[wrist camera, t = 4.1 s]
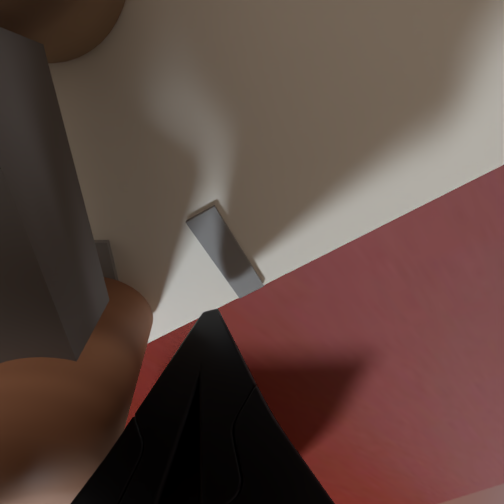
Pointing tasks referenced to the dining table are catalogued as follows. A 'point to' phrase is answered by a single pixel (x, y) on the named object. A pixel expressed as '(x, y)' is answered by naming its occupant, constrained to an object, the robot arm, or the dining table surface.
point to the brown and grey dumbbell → (55, 272)
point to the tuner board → (272, 133)
